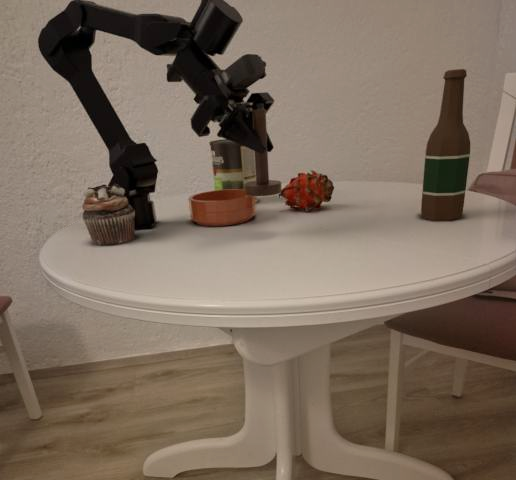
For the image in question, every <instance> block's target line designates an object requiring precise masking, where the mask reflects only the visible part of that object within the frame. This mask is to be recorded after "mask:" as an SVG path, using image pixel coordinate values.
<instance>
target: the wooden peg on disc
mask: <svg viewBox="0 0 516 480" xmlns="http://www.w3.org/2000/svg"><path fill="white" fill-rule="evenodd" d="M252 119H253V129H254V130H255V132H256V133H257V135H258V136H259V138H260V139H261V141H262V142H263V144H264V145H265V147H266V151H265V152H264V153H263V154H261V153H258V152H256V151H254V158H255V173H256V181H252V182H248V183H245V184H244V190H245V195H248V196H257V197H268V196H275V195H279V194H280V193H281V192H282V191H281V190H282V181H280V180H275V179H271V180H270V173H269V155H268V154H269V152H268V151H267V133H268V129H267V113H266V109H257V110H252Z"/></svg>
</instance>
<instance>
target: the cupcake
mask: <svg viewBox="0 0 516 480" xmlns="http://www.w3.org/2000/svg"><path fill="white" fill-rule="evenodd" d="M107 186H108V184H101V185H97V186H94V187H87V189H85V190H84V191H83V195H84V198H85V199H84V200H83V203H82V205H81V207H82V210H83V212H82V221H83V223H84V225H85V227H86V229H87V232H88V234H89V236H90V239H91V241H92V243H93V245H97V246H113V245H119V244H124V243H128V242H130V241H132V240H134V239H135V238H136V232H135V230H136V229H134V220H135V210H133V208H132V206H131V205H130V204H128V199H127V198H126V197H125V196H123V195H124V193H125V190H124V189H123V188H120V186H119V185H117V184H113V185H111V186H109V187H107Z"/></svg>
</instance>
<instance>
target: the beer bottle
mask: <svg viewBox="0 0 516 480" xmlns="http://www.w3.org/2000/svg"><path fill="white" fill-rule="evenodd" d="M467 76H468V74H467V70H466V69H465V68H459V69H448V70H446V71H445V72H444V75H443V77H442V79H444V84H443V90H442V99H441V105H440V110H439V111H440V112H439V117H438V120H437V124H436V126H435V127H434V128H433V130H432V132H431V133H430V135H429V137H428V140H427V142H426V147H425V154H424V166H423V167H424V168H423V178H422V191H421V203H420V204H421V205H420V207H421V208H420V214H421V215H420V216H421V218H422V219H423V220H427V221H433V222H440V221H444V222H445V221H448V222H449V221H450V222H451V221H454V220H458V219H462V216H463V212H464V206H465V198H466V189H467V182H468V174H469V166H470V157H471V139H470V135H469V131H468V129H467V128H466V125H465V124H464V114H463V113H464V96H465V79H466V78H467Z"/></svg>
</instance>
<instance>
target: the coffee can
mask: <svg viewBox="0 0 516 480" xmlns="http://www.w3.org/2000/svg"><path fill="white" fill-rule="evenodd" d="M209 146H210V153H211V154H210V155H211V164H212V173H213V182H214V190H225V189H244V184H245V183H248V182H252V181H256V171H255V153H254V150H251V149H249V148H247V147H245V146H242V145H240V144H237V143H235V142H232V141H230V140H227V139H225V138H222V139H215V140H211V141H209ZM257 202H258V196H255V204H256V203H257Z"/></svg>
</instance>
